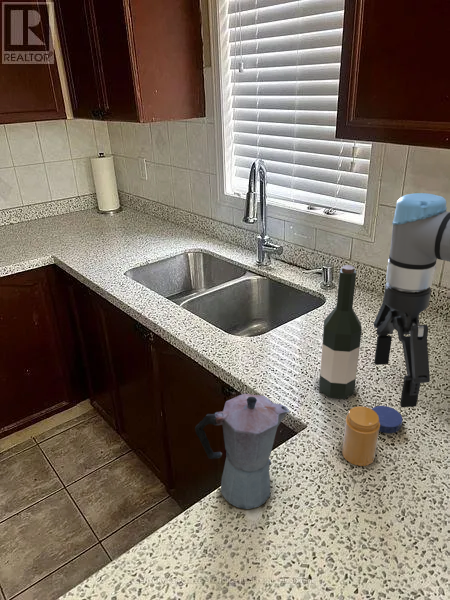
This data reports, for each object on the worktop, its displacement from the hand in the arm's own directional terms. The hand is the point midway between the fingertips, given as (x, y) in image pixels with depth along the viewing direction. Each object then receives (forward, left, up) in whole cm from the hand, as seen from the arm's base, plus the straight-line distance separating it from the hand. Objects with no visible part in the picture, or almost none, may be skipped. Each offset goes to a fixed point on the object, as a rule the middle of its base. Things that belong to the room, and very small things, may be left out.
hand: (393, 383), depth 87 cm
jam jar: (+3, +11, -10) cm, 15 cm away
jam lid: (0, 0, -9) cm, 9 cm away
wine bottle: (+12, -7, -10) cm, 18 cm away
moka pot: (+19, +28, -10) cm, 36 cm away
